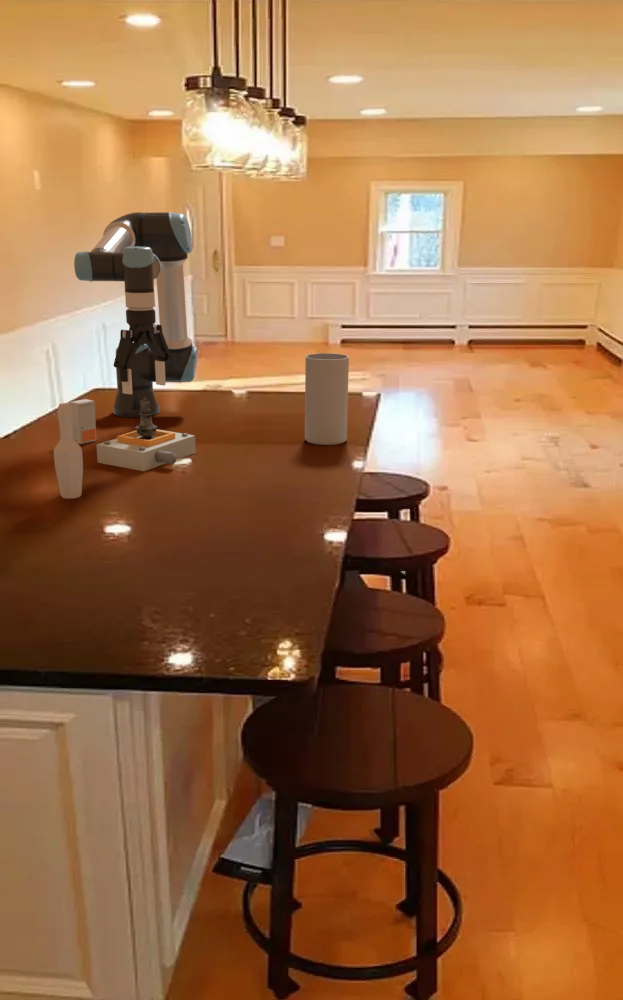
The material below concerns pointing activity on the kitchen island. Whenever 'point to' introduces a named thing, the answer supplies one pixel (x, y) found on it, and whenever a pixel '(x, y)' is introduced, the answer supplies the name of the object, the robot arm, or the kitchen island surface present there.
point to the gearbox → (145, 450)
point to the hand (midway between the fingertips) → (144, 389)
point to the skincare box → (83, 421)
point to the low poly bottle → (68, 456)
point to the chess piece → (146, 421)
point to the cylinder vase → (326, 398)
